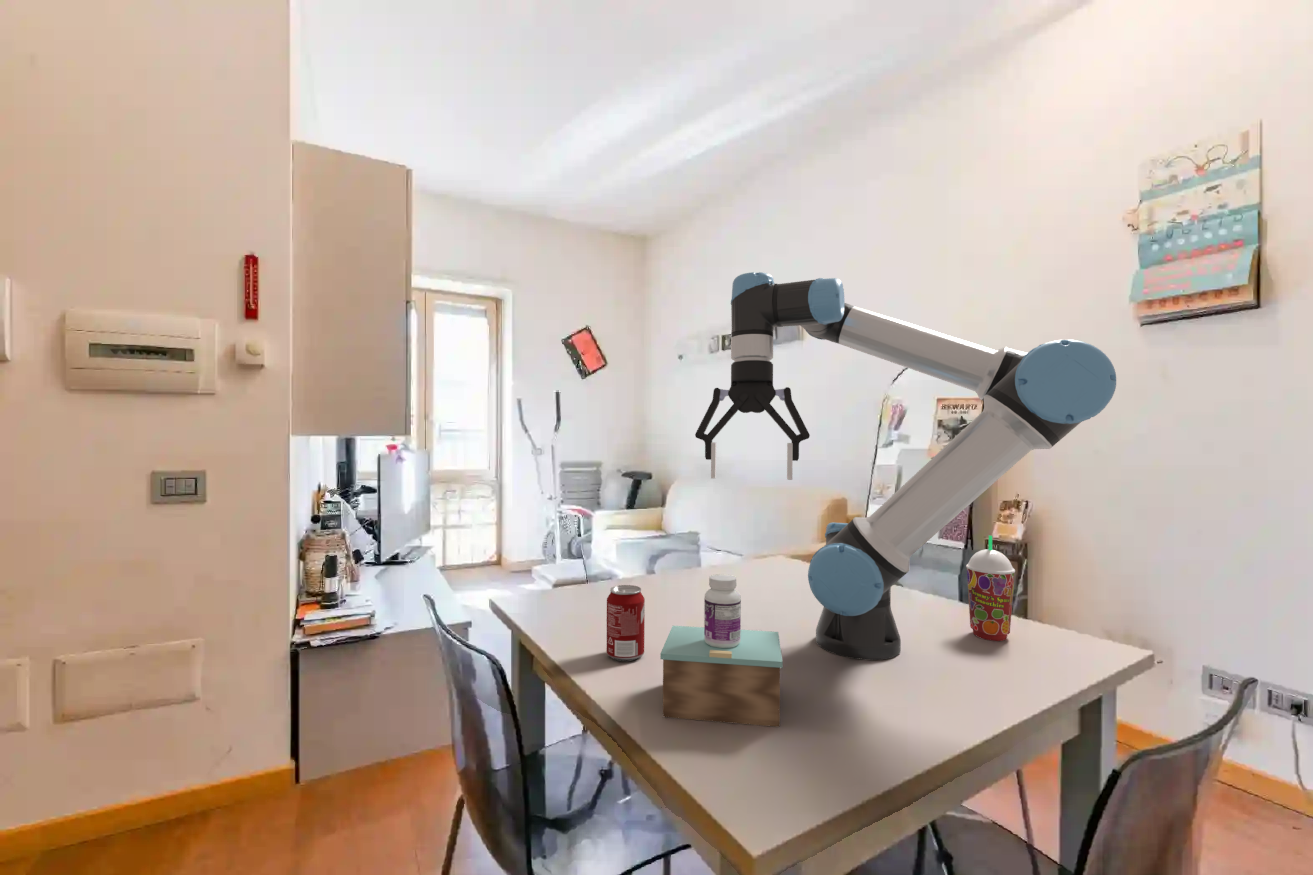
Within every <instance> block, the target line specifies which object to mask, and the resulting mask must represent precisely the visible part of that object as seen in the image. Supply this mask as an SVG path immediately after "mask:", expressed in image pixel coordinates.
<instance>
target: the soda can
mask: <svg viewBox="0 0 1313 875" xmlns="http://www.w3.org/2000/svg"><path fill="white" fill-rule="evenodd" d="M609 591H610V593H609V595H608V596H607V598H606V648H605V650H606V651H605V652H606V654H607V656H608V657H610V658H612V659H613V660H615V661H619V662H631V661H634V660H635V661H636V660H637V659H639V658H640V657H642V656H643V655H644V654H645V615H646V614H645V613H646V612H645V611H646V610H645V606H646V605H645V602H646V601H645V596H644V595H643V594H642V588H641V587H640V586H638V585H632V584H621V585H619V584H618V585H615V586H612V587H611V588H610V590H609Z"/></svg>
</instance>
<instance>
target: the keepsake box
mask: <svg viewBox="0 0 1313 875" xmlns="http://www.w3.org/2000/svg"><path fill="white" fill-rule="evenodd" d="M662 663H663V664H662V718H669V719H670V718H671V719H672V718H673V719H682V720H693V721H705V722H707V721H708V722H715V723H717V722H719V723H727V724H728V723H729V724H730V723H731V724H741V725H749V726H751V725H752V726H764V727H773V728H774V727H775V728H776V727H777V728H780V725H781V724H780V723H781V722H780V720H781V718H780V714H781V710H780V708H781V704H780V703H781V668H776V667H762V666H748V665H734V664H720V663H705V662H691V661H677V660H663V659H662Z"/></svg>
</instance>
